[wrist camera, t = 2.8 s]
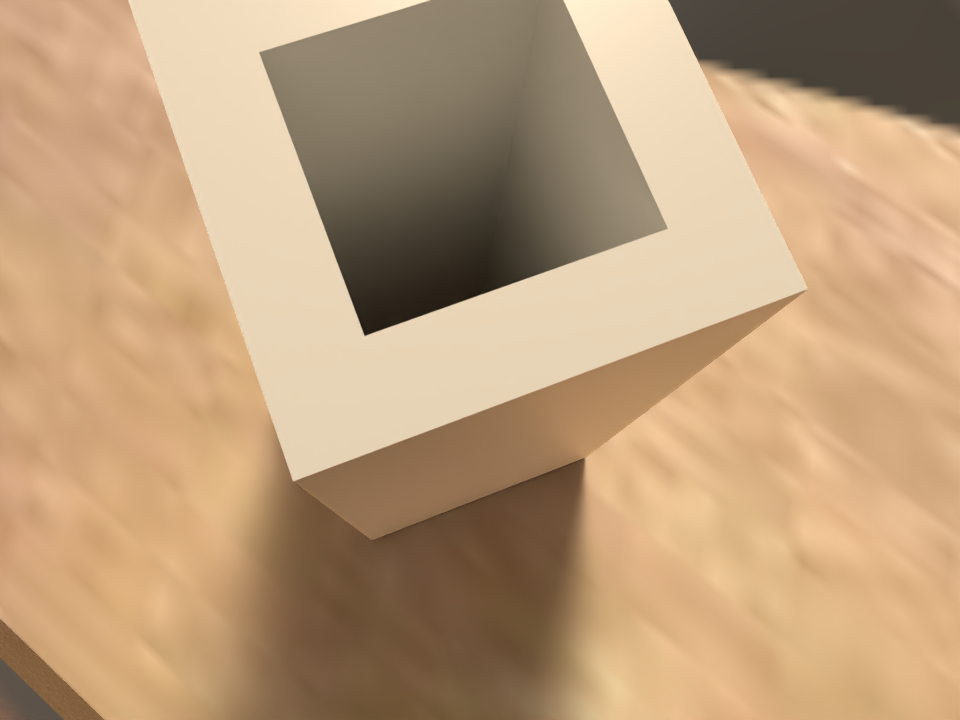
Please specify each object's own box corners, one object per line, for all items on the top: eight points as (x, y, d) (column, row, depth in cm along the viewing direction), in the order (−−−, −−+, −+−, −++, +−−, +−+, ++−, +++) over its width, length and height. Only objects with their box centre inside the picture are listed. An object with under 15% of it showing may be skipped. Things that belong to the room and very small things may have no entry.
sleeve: (585, 457, 20) (807, 289, 8) (371, 540, 19) (292, 480, 8) (502, 257, 21) (600, -141, 9) (296, 328, 20) (126, -6, 9)
